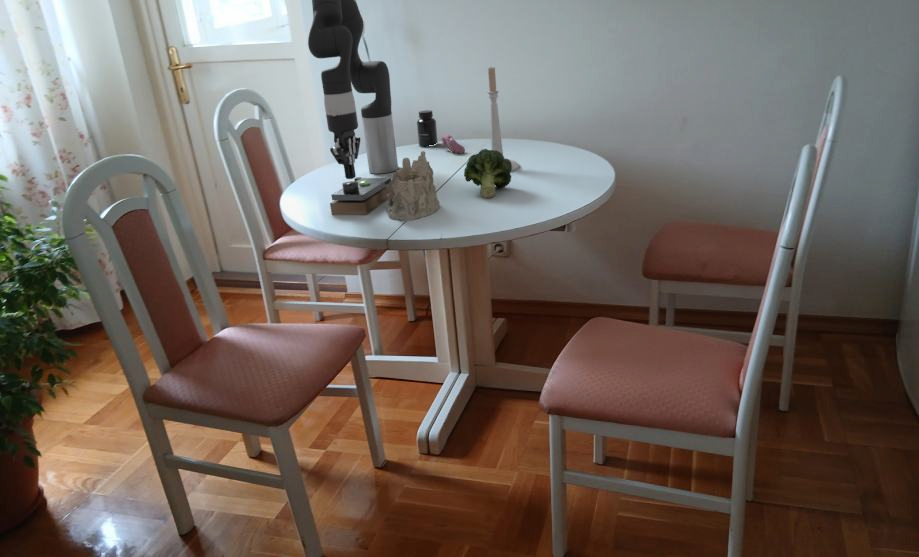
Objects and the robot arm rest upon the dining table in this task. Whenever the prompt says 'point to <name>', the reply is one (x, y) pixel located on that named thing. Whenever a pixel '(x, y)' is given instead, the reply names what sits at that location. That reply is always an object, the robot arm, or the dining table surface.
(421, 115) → the supplement bottle
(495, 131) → the candlestick
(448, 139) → the pink shoe
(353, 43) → the robot arm
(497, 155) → the vegetable
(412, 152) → the dining table surface
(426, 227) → the dining table surface
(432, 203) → the miniature castle
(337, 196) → the plate
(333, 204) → the brown boxy piece
